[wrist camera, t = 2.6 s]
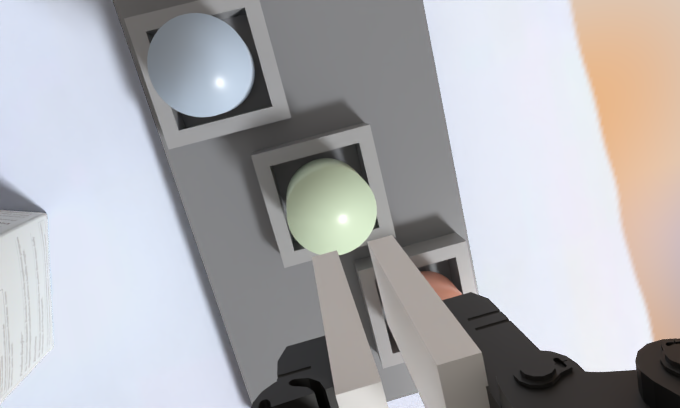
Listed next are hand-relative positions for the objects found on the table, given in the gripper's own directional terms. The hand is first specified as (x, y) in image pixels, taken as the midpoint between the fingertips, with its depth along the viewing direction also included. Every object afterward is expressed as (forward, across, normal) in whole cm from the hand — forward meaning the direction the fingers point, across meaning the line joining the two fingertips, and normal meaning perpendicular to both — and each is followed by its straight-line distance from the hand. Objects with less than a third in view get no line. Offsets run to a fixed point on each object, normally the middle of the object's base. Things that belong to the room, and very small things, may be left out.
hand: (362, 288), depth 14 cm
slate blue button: (+13, -4, +8) cm, 16 cm away
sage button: (+13, 0, 0) cm, 13 cm away
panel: (+16, 0, 0) cm, 16 cm away
